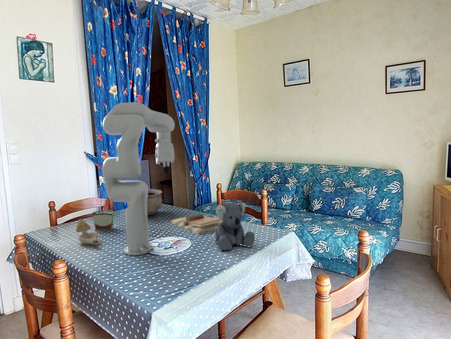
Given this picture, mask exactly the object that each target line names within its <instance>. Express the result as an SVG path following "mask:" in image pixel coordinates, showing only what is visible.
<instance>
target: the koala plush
mask: <svg viewBox="0 0 451 339" xmlns="http://www.w3.org/2000/svg"><path fill="white" fill-rule="evenodd" d="M246 206H247V205H246V202H240V203H239V204H227V205H225V204H220V203H219V204H218V205H217V206H216V207H215V209H214V210H215V215H216V216H217V218H219V219H221V220H222V222H221V223H220V224H219V226H218V229H217V230H215V234H214V235H215V241H214V242H215V245H217V246H218V249H219V250H220V249H221V250H220V251H222V250H224V251H223V252H226V251H225V250H229V251H231V250H232V249H231V248H233V246H234V245H236V246H239V245H240V244H242V245H246V246H251V245H253V246H254V244H255V241H256V240H255V238H256V237H255V236H256V235H255V232H254V231H251V230H250V231H247V232H246V233H245V231H244V228H243V225H242V224H241V223H242V217H243V216H244V213H245V211H246V209H245V208H246ZM230 249H231V250H230Z"/></svg>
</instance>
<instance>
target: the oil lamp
mask: <svg viewBox="0 0 451 339" xmlns="http://www.w3.org/2000/svg"><path fill="white" fill-rule="evenodd" d="M76 224H77V225H76V231H75V232H76V233H82V234H80V235H79V236H78V241H79V242H80V243H81V244H82V245H92V246H98V245H99V243H100V242H101V241H100V239H98V238H99V235H98V233H97V232H89V233H88V231H89V230H92V227H91V226H90V224H88V223H87V222H86V221H84V220H83V219H81V218H80V219H79V220H78V222H77V223H76Z"/></svg>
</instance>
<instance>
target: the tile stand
mask: <svg viewBox="0 0 451 339" xmlns="http://www.w3.org/2000/svg"><path fill="white" fill-rule="evenodd" d="M207 217H212V218H214V216H213V215H209V216H207V215H204V214H203V213H196V214H192V215H187V216H182V217H177V218H175V219H170V220H169V221H170V224H172V225H175V226H177V227H180V228H183V229H185V230H187V231H189V232H191V231H192V232H191V233H194V234H196V233H197V234H196V235H198V234H200V235H203V234H202V233H204V234H206V233H205V232H208V233H210V232H209V231H211V232H213V231H212V230H215V229H218V226H219V224H220V223H221V222H218V223H214V224H210V225H206V226H202V227H199V226H194V225H189V224H188V222H190V221H194V220H198V219H203V218H207ZM215 231H216V230H215Z"/></svg>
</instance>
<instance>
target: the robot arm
mask: <svg viewBox="0 0 451 339" xmlns="http://www.w3.org/2000/svg"><path fill="white" fill-rule="evenodd" d="M175 127H176V125H175V121H174V119H173V118H172V116H170V115H169V114H167V113H163V112H159V111H155V110H152V109H151V108H149V107H148V106H146V105H145V104H143V103H141V102H137V101H135V102H132V101H131V102H120V103H117V104H116V105H115V106H113V107H112V109H111V110H110V111H109V112H108V113H107V114H106V115H105V117H104V118H103V122H102V129H103V131H104V132H105V133H106V134H107V135H110V136H120V138H119V139H118V141H117V144H116V148H115V149H116V154H117V156H114V157H107V158H106V159H105V160H104V161H103V164H102V168H101V169H102V170H101V171H102V177H103V181H104V187H105V190H106V195H107V197H108V199H109V201H111V202H114V203H127V202H129V203H130V204H129V206H128V205H127V208H126V209H125V211H124V218H125V220H124V221H125V234H126V246H125V247H124V248H123V253H124V254H125V255H129V256H139V255H141V256H142V255H145V254H148V253H149V252H148V251H150V250H151V249H152V248H153V249H154V247H153V244H151V243H150V238H149V235H150V234H149V221H148V220H149V219H148V215H147V197H148V189H149V186H148V184H147V183H146V182H145V181H142V180H137V178H140V176H141V174H142V166H141V159H140V154H139V147H138V146H139V141H140V138H141V135H142V134H143V131H144V128H147V130H148V131H149V132H151V133H156V139H154V142H155V143H156V145H155V154H154V156H155V164H156V165H159V166H161V168H162V169H161V170H162V174H164V175H168V174H169V171H170V170H169V167H170V165H171V164H173V163H175V149H174V145H173V143H172V138H171V136H172V134H171V132H172V131H174V129H175ZM135 179H136V180H135ZM153 249H152V250H153ZM152 250H151V251H152ZM151 251H150V252H151Z"/></svg>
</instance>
